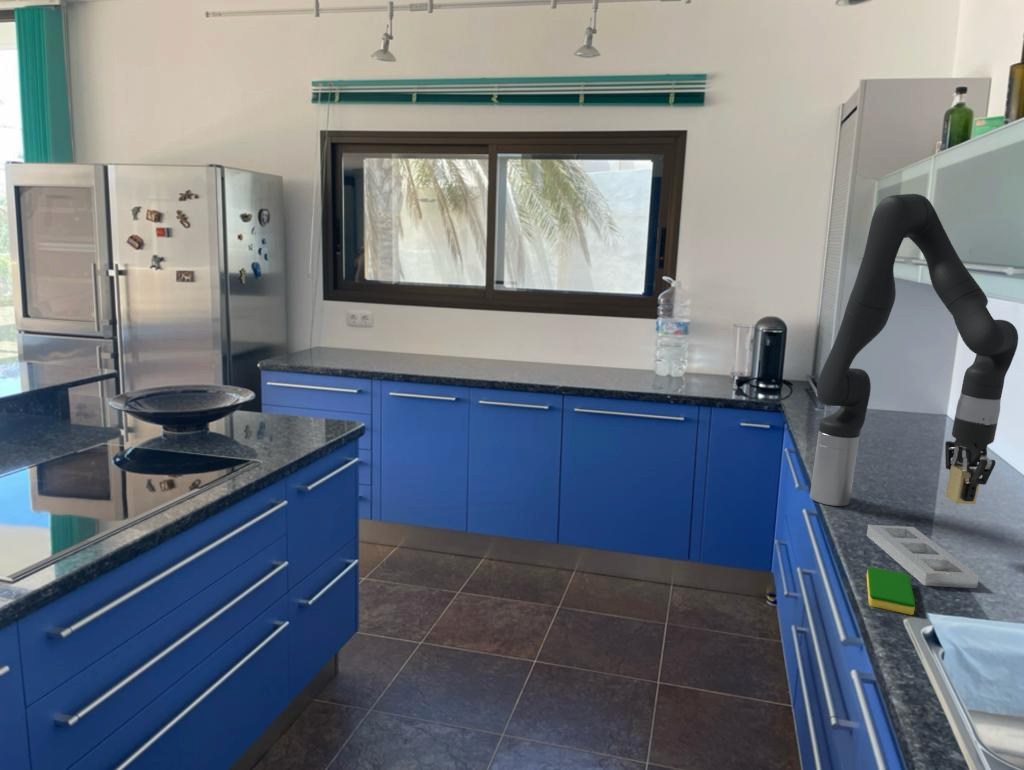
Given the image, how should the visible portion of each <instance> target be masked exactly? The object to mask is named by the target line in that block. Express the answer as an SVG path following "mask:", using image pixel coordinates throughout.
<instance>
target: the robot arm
mask: <svg viewBox="0 0 1024 770" xmlns="http://www.w3.org/2000/svg"><path fill="white" fill-rule="evenodd" d="M908 238H909V240H911V241H912V242H913V243H914V245H916V247H917V248H918V249H919V250H920V252H921V253H922V255H923V256H924V258H925V262H926V264H927V268H928V274H929V278H930V279H929V280H930V282H931V284H932V287H933V289H934V291H935V293H936V295H937V296H938V298H939V299H940V300H941V302H942V304H943V305H944V306H945V308H946V309H947V310H948V312H949V313H950V315H951V316H952V318H953V320H954V324H955V326H956V328H957V330H958V333H959V335H960V338H961V339H962V341H963V343H964V345H966V347H967V348H968V350H969V351H971V352H972V353H974V354H975V358H974V361H973V363H972V364H971V365H970V366H968V367H967V368H966V370H965V372H964V376H963V379H962V380H963V381H962V385H961V390H960V395H959V399H958V401H957V404H956V409H955V415H954V419H953V426H952V431H951V436H952V437H953V438H954V439H955V440H953V441H951V440H950V441H948V440H947V441H945V443H944V444H945V446H944V448H945V453H944V454H945V469H947V470H949V471H950V469H951V465H955V466H963V471H965V472H966V476H965V483H964V488H963V494H962V500H964V501H973V500H974V498H975V494H976V489H977V485H979V486H980V485H984V486H985V485H987V483H988V480H989V478H990V477H991V475H992V473H993V470H994V468H995V467H996V460H995V459H990V458H989V457H988V446H989V445H990V444H993V443H995V442H994V441H995V438H996V433H997V428H998V427H997V426H998V422H999V417H1000V413H1001V401H1002V394H1003V390H1004V385H1005V378H1006V375H1007V373H1008V370H1009V369H1010V366H1011V364H1012V362H1013V360H1014V357H1015V354H1016V351H1017V349H1018V344H1019V334H1018V330H1017V328H1016V327H1015V325H1014V324H1013V323H1011V322H1010V321H1008V320H1005V319H994V318H993V316H992V314H991V313H990V311H989V310H988V307H987V306H988V303H989V300H988V297H987V295H986V294H985V292H984V291H983V290H982V288H981V287H980V285H979V283H977V281H976V279H974V277H973V275H972V274H971V273H970V271H969V270H968V269H967V268H966V266H965V264H964V262H963V261H962V260H961V258H960V257H959V255H958V253H957V251H956V250H955V248H954V246H953V243H952V242H951V239H950V238H949V236H948V233H947V232H946V230H945V228H944V226H943V224H942V222H941V219H940V217H939V216H938V214H937V211H936V209H935V207H934V206H933V204H932V202H931V201H930V200H929V199H928V198H927V197H926V196H924V195H922V194H918V193H906V194H905V193H904V194H893V195H889V196H887V197H884V198H883V199H882V200H880V202H878V205H877V206H876V207H875V209H874V211H873V214H872V217H871V221H870V226H869V230H868V235H867V239H866V244H865V248H864V252H863V256H862V259H861V263H860V266H859V269H858V271H857V274H856V275H857V276H856V278H855V282H854V284H853V288H852V289H851V293H850V295H849V297H848V301H847V304H846V306H845V310H844V314H843V318H842V320H841V322H840V323H841V324H840V326H839V328H838V331H837V335H836V338H835V340H834V343H833V345H832V348H831V349H830V352H829V354H828V356H827V358H826V360H825V363H824V364H823V367H822V369H821V371H820V374H819V377H818V380H817V384H816V395H817V399H818V401H819V402H820V404H822V405H825V406H829V407H830V406H831V407H839V408H838V410H836V411H835V412H834V413H832V414H830V415H828V416H824V418H822V419H821V420H820V421H819V427H818V434H817V441H816V449H815V455H814V463H813V469H812V470H813V471H812V478H811V484H810V493H809V498H810V499H811V500H813V501H815V502H817V503H821V504H822V505H823V504H824V505H826V506H827V505H829V506H836V507H843V506H848V505H849V504H850V502H851V501H850V500H851V497H852V496H851V495H852V488H853V483H854V477H855V476H854V475H855V470H856V469H855V468H856V463H857V455H858V450H859V441H860V435H861V430H862V428H863V426H864V424H865V421H866V416H867V410H868V406H869V401H870V398H871V397H870V396H871V388H872V387H871V386H872V385H871V384H872V383H871V378H870V376H869V374H868V373H867V372H866V371H865V370H864V369H862V368H853V367H851V364H853V361H854V360H855V358H857V357H856V356H857V355H858V354H859V353H860V352H861V351H862V350H863V349H865V347H866V346H867V345H868V344H870V343H871V341H873V340H874V339H875V338H876V337H877V336H878V335H879V334H880V333H881V332H882V331H883V330H884V328H885V327H886V325H887V323H888V321H889V318H890V316H891V312H892V310H893V307H894V304H895V300H896V295H897V294H896V293H897V292H896V284H895V275H894V267H895V262H896V257H897V255H898V253H899V250H900V247H901V245H902V243H903V241H904V239H908ZM969 467H974V468H975V469H970V468H969ZM971 473H974V474H973V477H972V478H971Z"/></svg>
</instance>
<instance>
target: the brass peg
mask: <svg viewBox="0 0 1024 770" xmlns="http://www.w3.org/2000/svg"><path fill="white" fill-rule="evenodd" d="M969 468H970V469H976V467H969ZM973 474H974V473H971V478H972V477H973ZM965 476H966V472H965V471H963V466H955V465H951V469H950V470H949V475H948V479H947V480H948V482H947V487H946V491H945V497H946V498H947V499H948V500H950V501H952V502H954V503H955V504H962V505H963V504H965V505H966V504H967V505H976V503H977V498H978V494H979V488H980V484H979V485H977V489H976V494H975V498H974V500H973V501H964V500H962V494H963V488H964V483H965Z"/></svg>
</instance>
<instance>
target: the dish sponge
mask: <svg viewBox="0 0 1024 770" xmlns="http://www.w3.org/2000/svg"><path fill="white" fill-rule="evenodd" d="M910 577H911V576H910V574H909V573H905V572H901V571H900V572H899V571H894V570H889V569H885V568H884V569H883V568H879V567H873V566H867V571H866V584H867V585H866V586H867V597H868V606H870V607H872V608H873V607H874V608H878V609H883V610H888V611H893V612H895V613H896V612H897V613H902V614H906V615H911V616H912V615H914V614H915V610H916V609H915V608H916V602H915V596H914V591H913V588H912V581H911V578H910Z"/></svg>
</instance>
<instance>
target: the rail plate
mask: <svg viewBox="0 0 1024 770" xmlns="http://www.w3.org/2000/svg"><path fill="white" fill-rule="evenodd" d="M866 537H868V538H869V539H870V540H871V541H872V542H873V541H874V542H873V543H875V544H876V546H878V547H879V548H880V549H881V550H882V551H884V552H885V553H887V555H889V556H890V557H891V558H892V560H894V561H896V563H898V564H899V565H900V566H901V567H902V568H903V569H905V570H906V571H907V572H908V574H909V575H911V576H913V577H914V578H915V579H916V580H918V582H920V584H922V585H923V586H924V587H925V586H926V587H927V586H928V587H945V588H947V587H948V588H949V587H950V588H966V589H978V586H979V579H980V575H979V574H978V573H976V572H974V571H973V570H972V569H971V568H969V567H968V566H967V565H966V564H964V563H963V562H961V561H960V560H959V559H958V558H956V557H954V555H952V554H951V553H950V552H948V551H946V550H945V549H944V548H943V547H941V546H939V545H938V544H937V543H936V542H934V541H933V540H932V539H930V538H929V537H927V535H926V534H924V533H922V532H921V531H920V530H918V529H917V528H916V527H914V526H902V525H901V526H899V525H882V524H881V525H880V524H879V525H878V524H868V525H867V531H866Z"/></svg>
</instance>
